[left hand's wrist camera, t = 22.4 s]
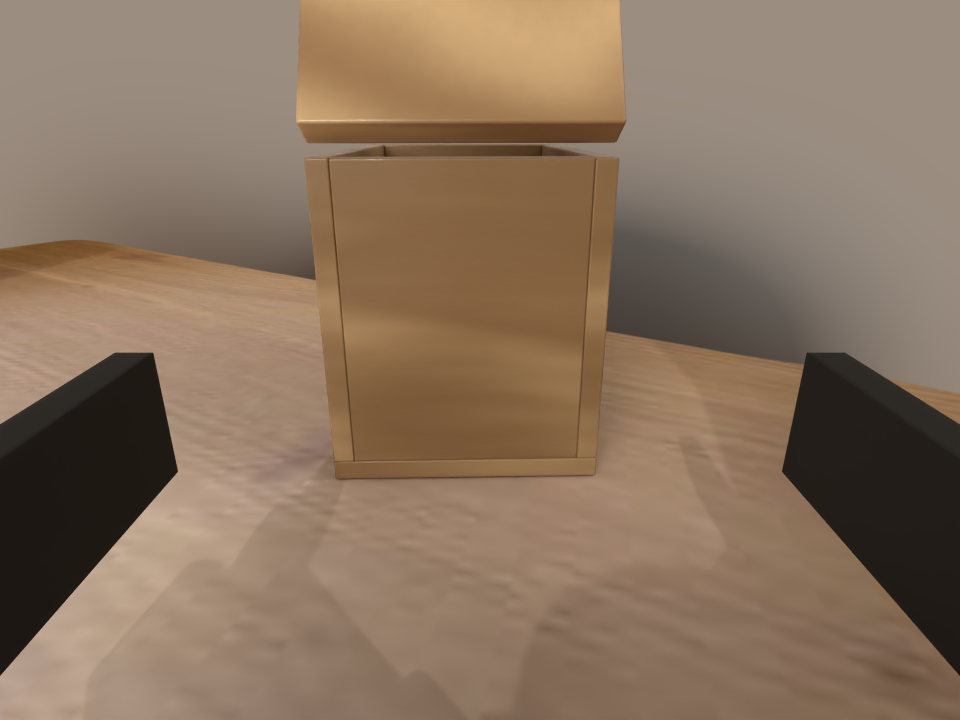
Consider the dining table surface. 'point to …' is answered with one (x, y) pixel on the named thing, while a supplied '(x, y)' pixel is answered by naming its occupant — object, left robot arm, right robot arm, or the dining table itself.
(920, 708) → the dining table surface
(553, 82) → the lid
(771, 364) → the dining table surface
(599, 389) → the chest
